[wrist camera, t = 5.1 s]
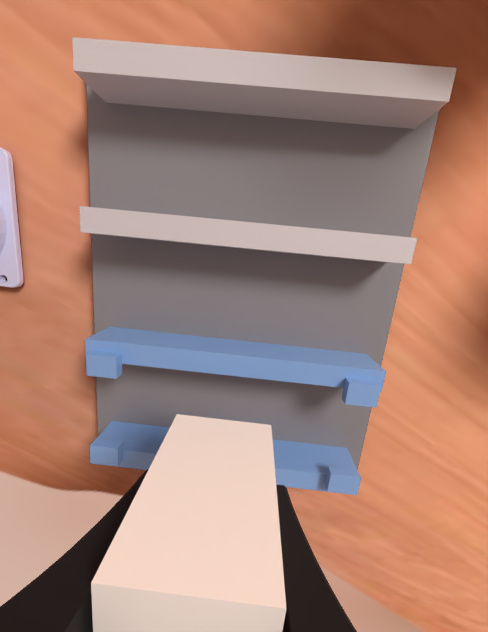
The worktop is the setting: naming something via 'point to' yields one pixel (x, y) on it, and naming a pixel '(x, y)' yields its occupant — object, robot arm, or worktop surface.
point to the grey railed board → (249, 243)
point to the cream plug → (198, 537)
